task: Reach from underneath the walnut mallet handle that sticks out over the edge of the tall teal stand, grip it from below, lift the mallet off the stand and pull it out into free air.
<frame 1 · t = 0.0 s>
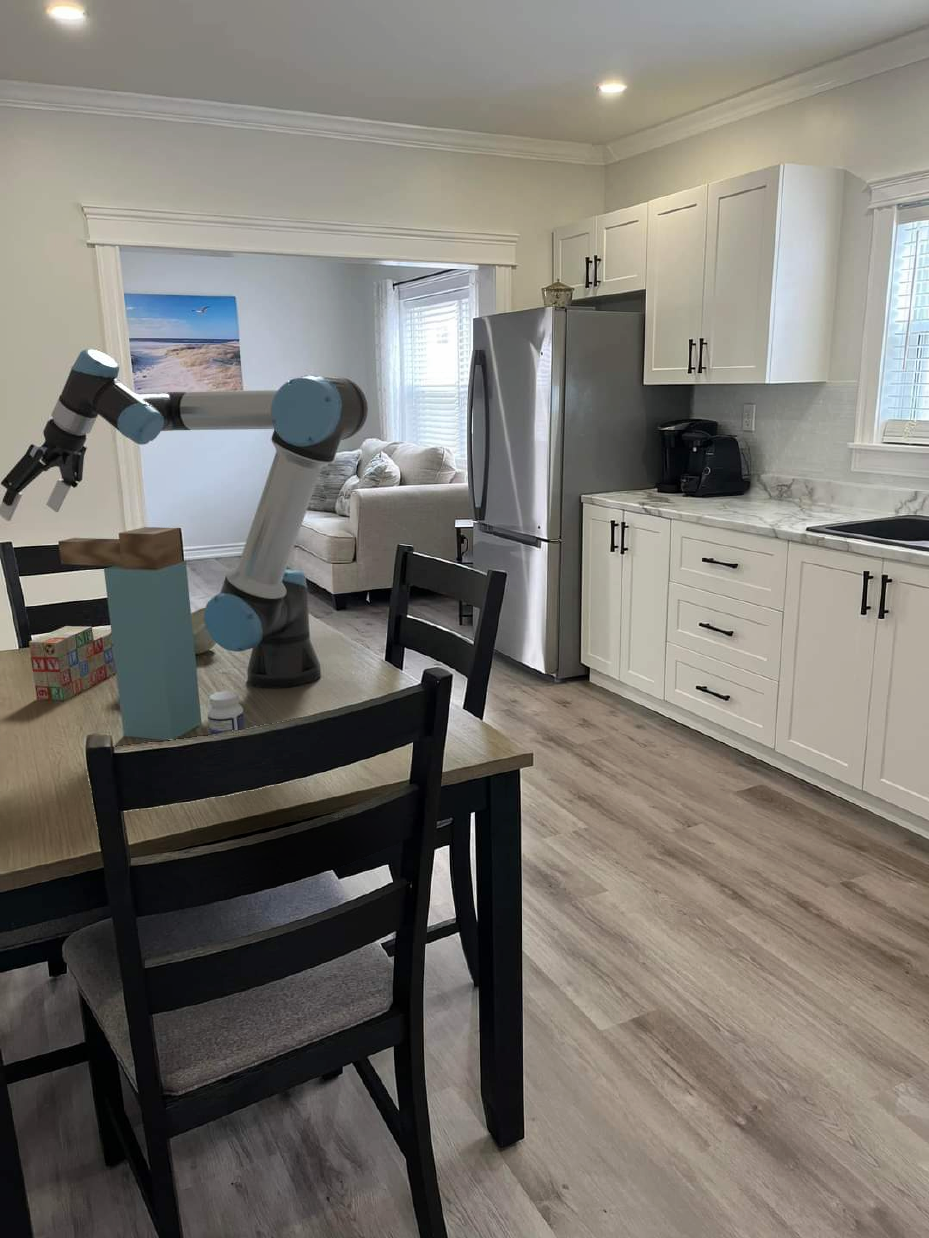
hand: (28, 512, 188), 36 cm above the table, tool tilted 35°, fingers open, 13 cm apart
stand: (163, 729, 167), on the table
pill bottle: (229, 752, 156), on the table
stack of blocks: (82, 685, 195), on the table
mallet: (152, 565, 159), point 30 cm above the table, touching stand
bowl: (195, 653, 217), on the table
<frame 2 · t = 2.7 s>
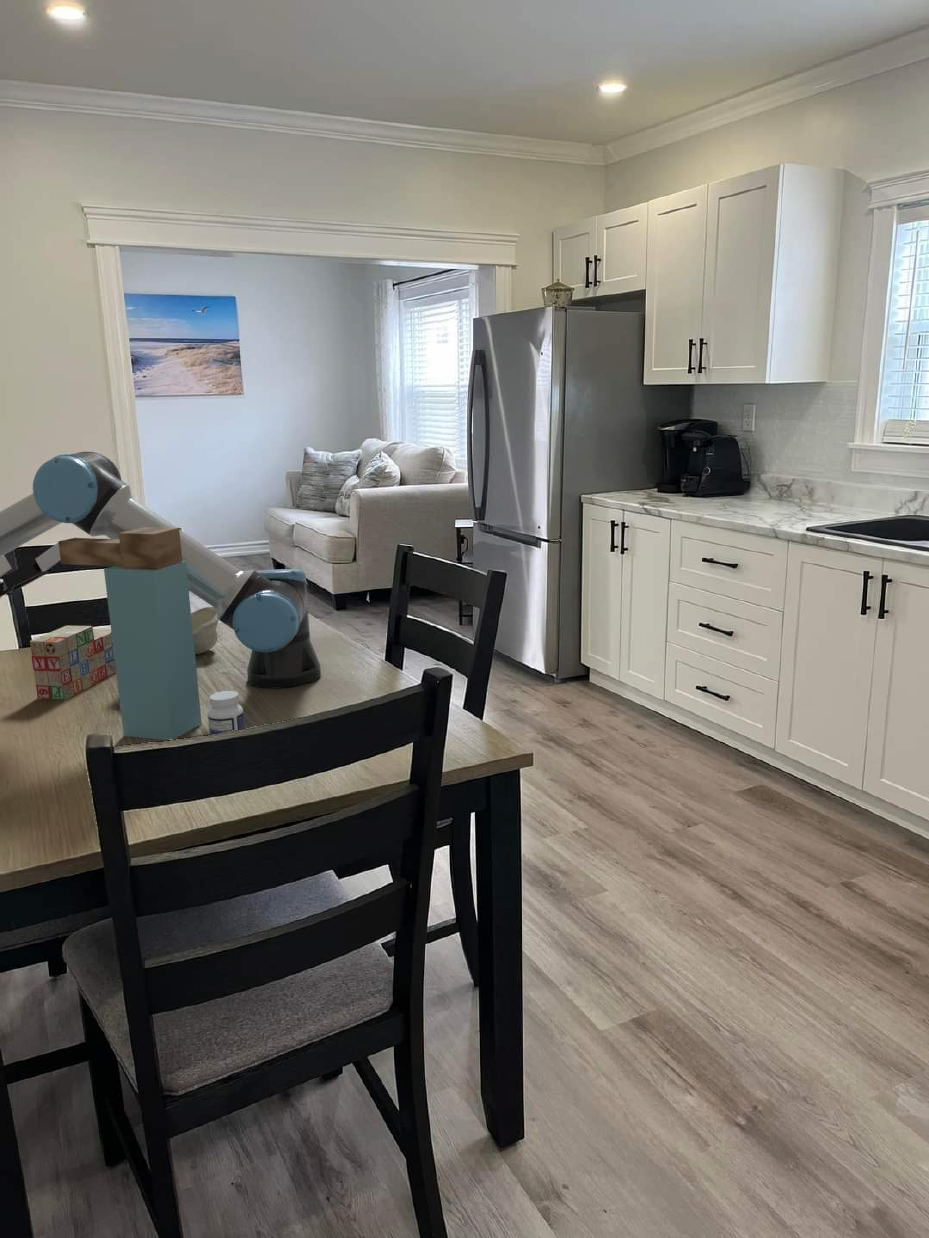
hand: (35, 555, 164), 31 cm above the table, tool pointing upward, fingers open, 13 cm apart
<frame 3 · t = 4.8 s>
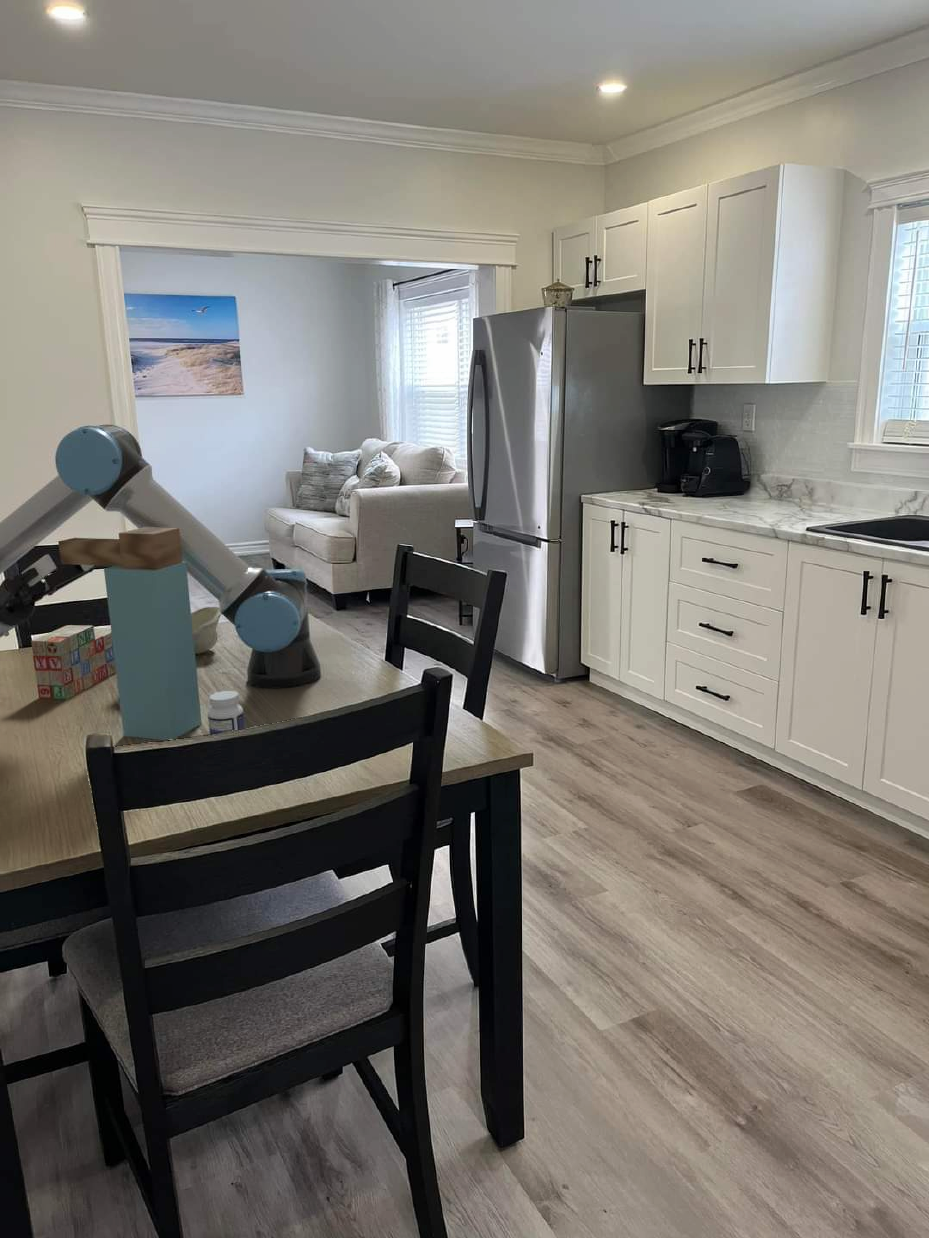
hand: (79, 554, 163), 31 cm above the table, tool pointing upward, fingers open, 13 cm apart
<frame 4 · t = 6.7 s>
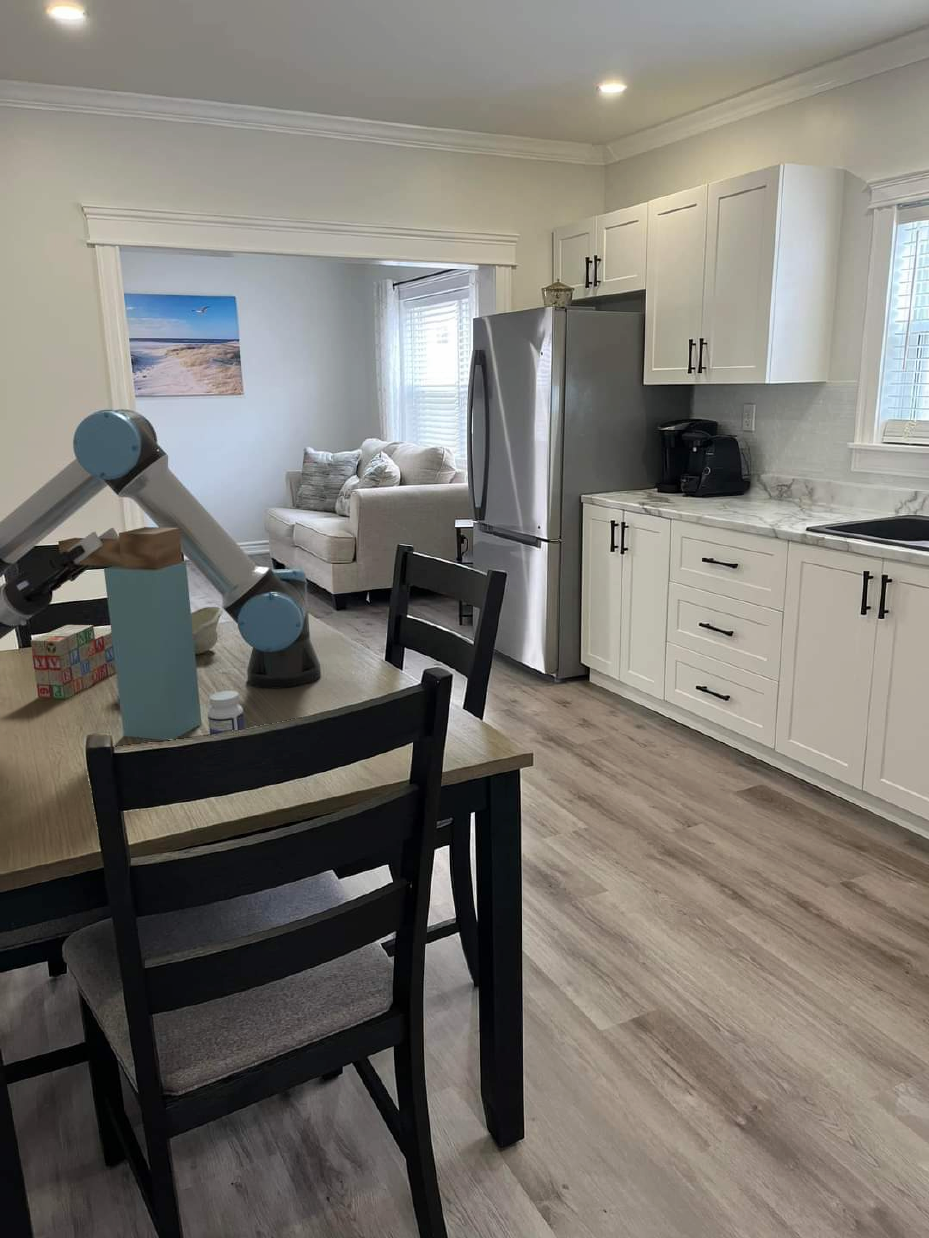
hand: (106, 537, 161), 35 cm above the table, tool pointing upward, fingers closed on mallet, 4 cm apart
mallet: (152, 565, 159), point 30 cm above the table, touching gripper, stand
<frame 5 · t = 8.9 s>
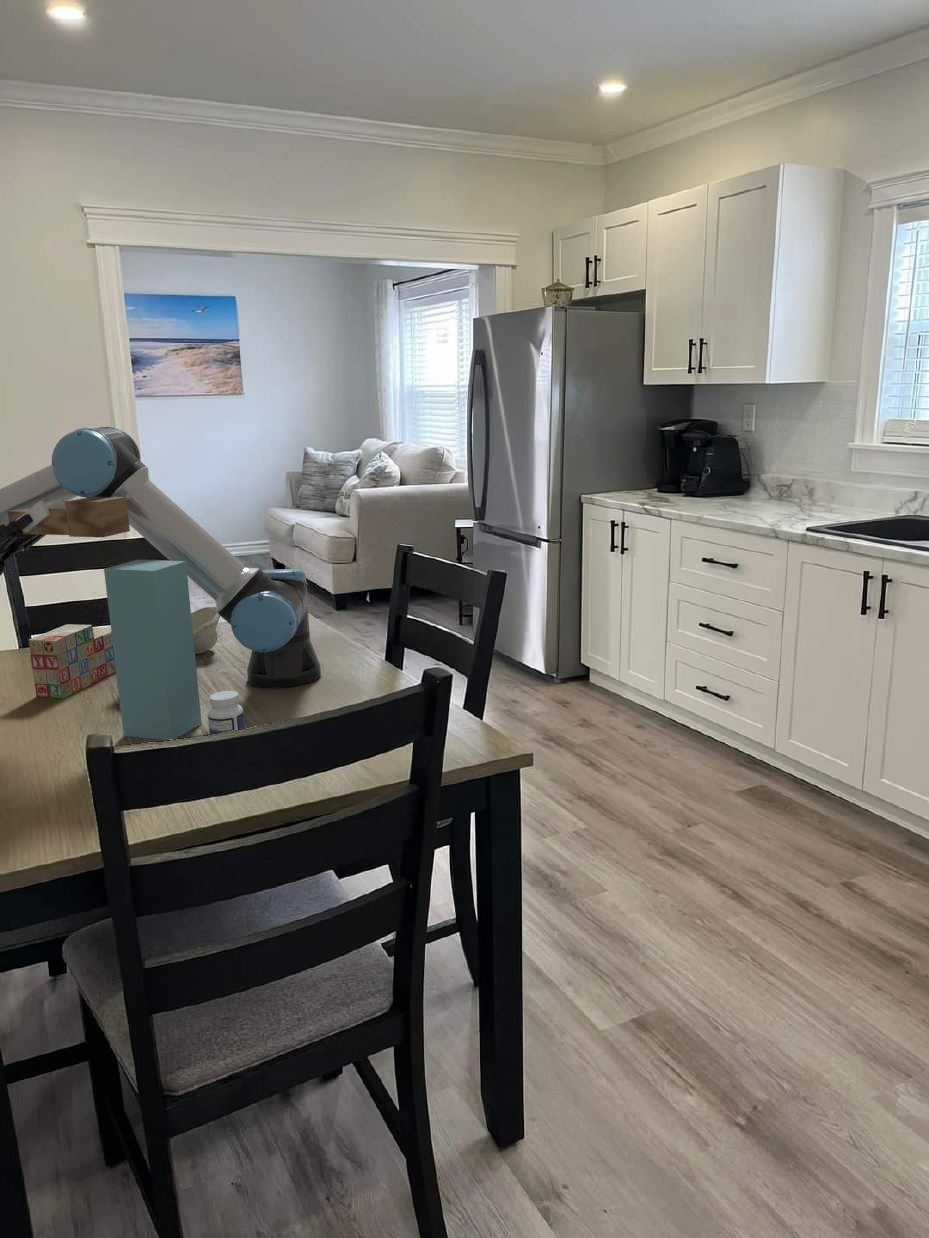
hand: (54, 506, 163), 40 cm above the table, tool pointing upward, fingers closed on mallet, 4 cm apart
mallet: (100, 533, 161), point 35 cm above the table, touching gripper
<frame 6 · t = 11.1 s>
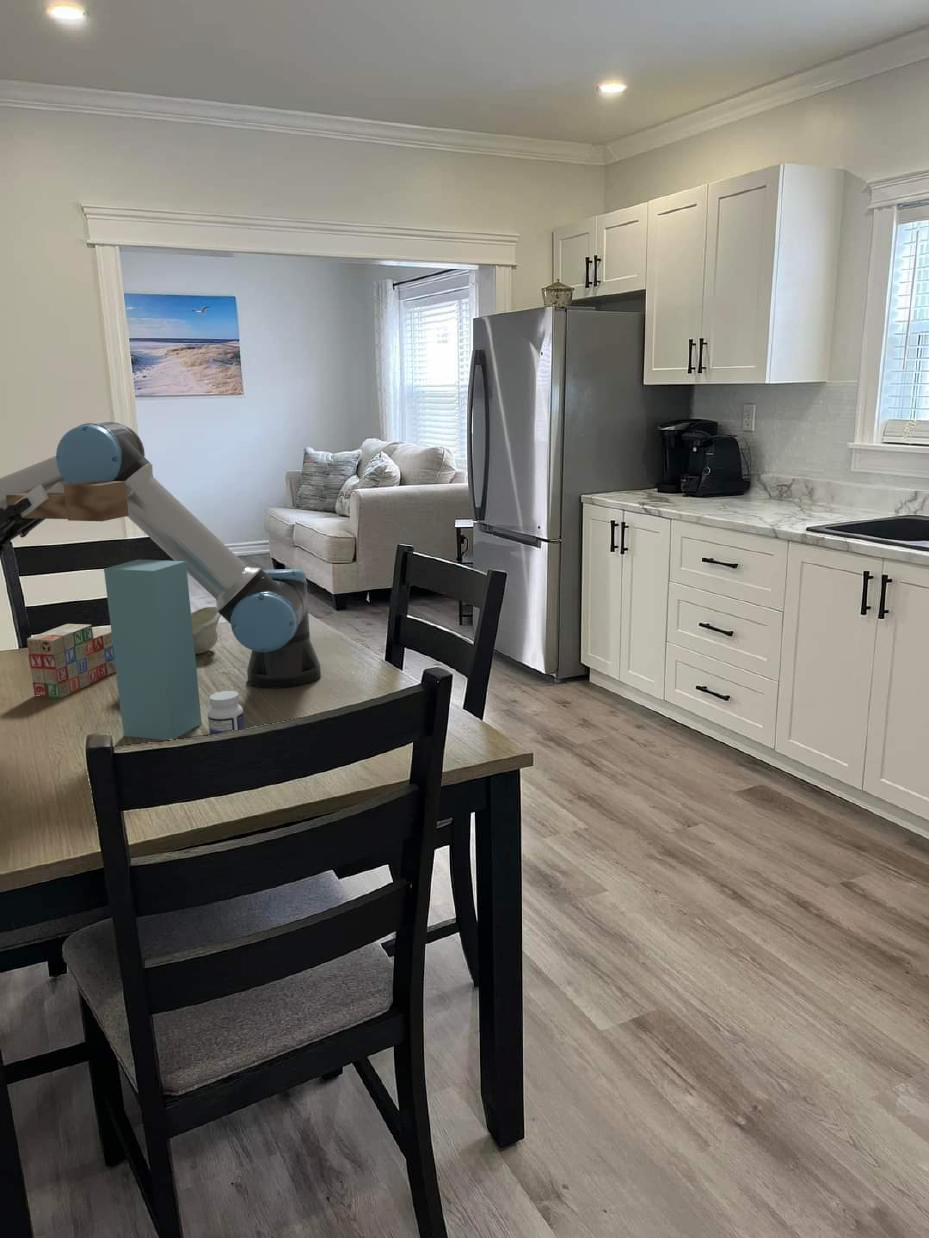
hand: (53, 490, 162), 43 cm above the table, tool pointing upward, fingers closed on mallet, 4 cm apart
mallet: (98, 518, 160), point 38 cm above the table, touching gripper
at the end: the gripper is holding mallet; mallet moved 12.7 cm from its start; mallet point 37.9 cm above the table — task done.
